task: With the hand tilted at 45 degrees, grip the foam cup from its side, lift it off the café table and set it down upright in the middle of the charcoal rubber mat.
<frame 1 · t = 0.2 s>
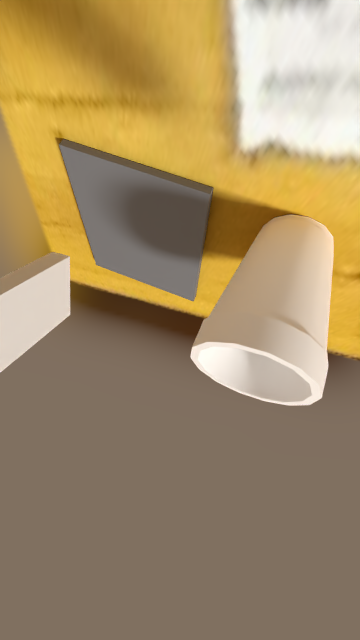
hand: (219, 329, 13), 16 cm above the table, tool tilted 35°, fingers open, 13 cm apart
rubber mat: (142, 232, 37), on the table
foam cup: (295, 240, 30), on the table
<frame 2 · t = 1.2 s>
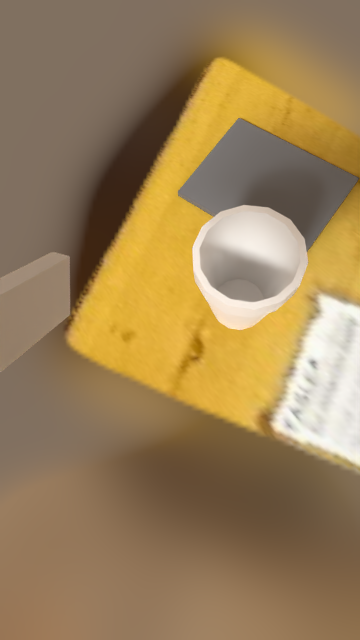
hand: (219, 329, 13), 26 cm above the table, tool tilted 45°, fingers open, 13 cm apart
rubber mat: (265, 189, 44), on the table
foam cup: (238, 304, 41), on the table
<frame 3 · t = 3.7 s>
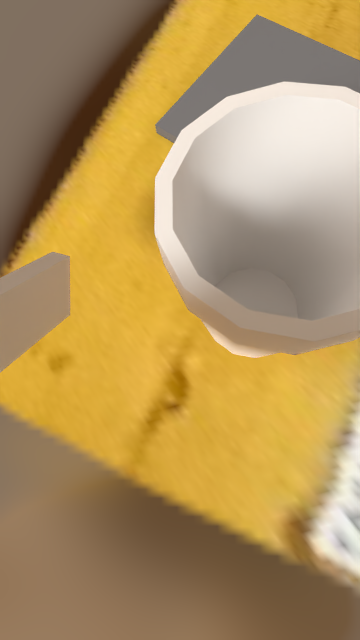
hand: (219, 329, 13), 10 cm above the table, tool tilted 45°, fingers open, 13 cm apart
rubber mat: (298, 123, 27), on the table
foam cup: (250, 312, 24), on the table
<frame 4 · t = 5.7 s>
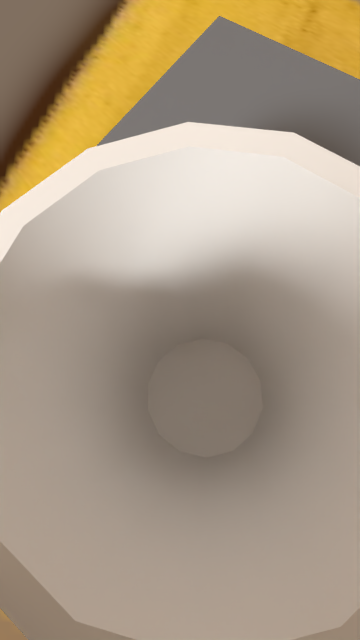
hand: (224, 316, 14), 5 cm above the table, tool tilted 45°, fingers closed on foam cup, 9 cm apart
rubber mat: (268, 149, 22), on the table
foam cup: (204, 396, 18), on the table, touching gripper
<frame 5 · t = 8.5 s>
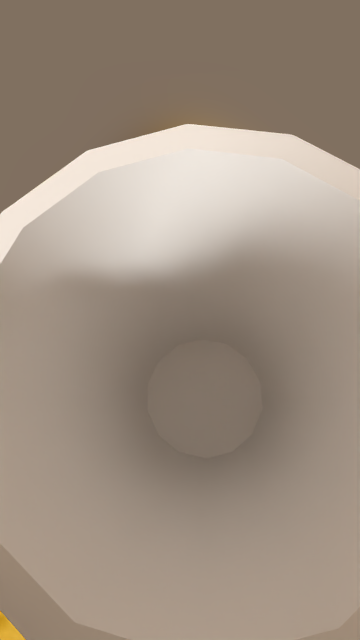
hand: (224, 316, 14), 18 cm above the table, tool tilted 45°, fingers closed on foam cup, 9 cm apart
foam cup: (203, 397, 18), point 13 cm above the table, touching gripper
when the fingers open (7 cm above the table, at t = 11.3 s): foam cup stays where it is, resting on rubber mat.
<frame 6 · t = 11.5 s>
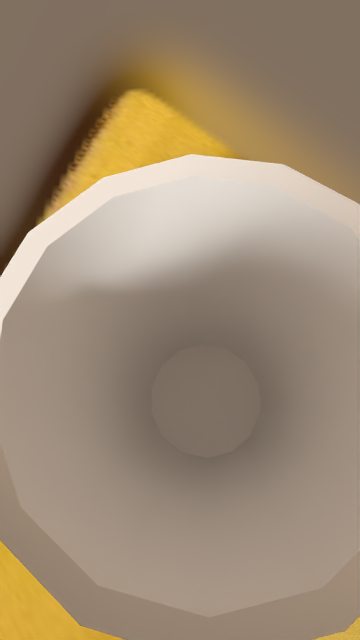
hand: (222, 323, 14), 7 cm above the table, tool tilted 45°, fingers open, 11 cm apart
foam cup: (205, 399, 19), point 1 cm above the table, touching rubber mat
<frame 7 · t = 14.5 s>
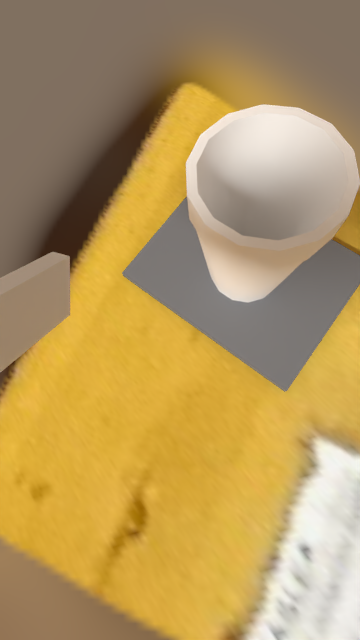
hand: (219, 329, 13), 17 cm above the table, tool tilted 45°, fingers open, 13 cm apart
rubber mat: (243, 272, 32), on the table
foam cup: (244, 270, 31), point 1 cm above the table, touching rubber mat
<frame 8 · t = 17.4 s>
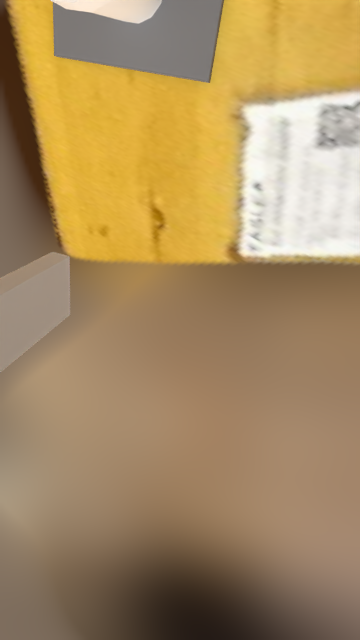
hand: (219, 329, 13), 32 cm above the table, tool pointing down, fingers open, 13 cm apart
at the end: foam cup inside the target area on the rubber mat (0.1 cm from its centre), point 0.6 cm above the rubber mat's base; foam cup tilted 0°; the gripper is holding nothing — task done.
